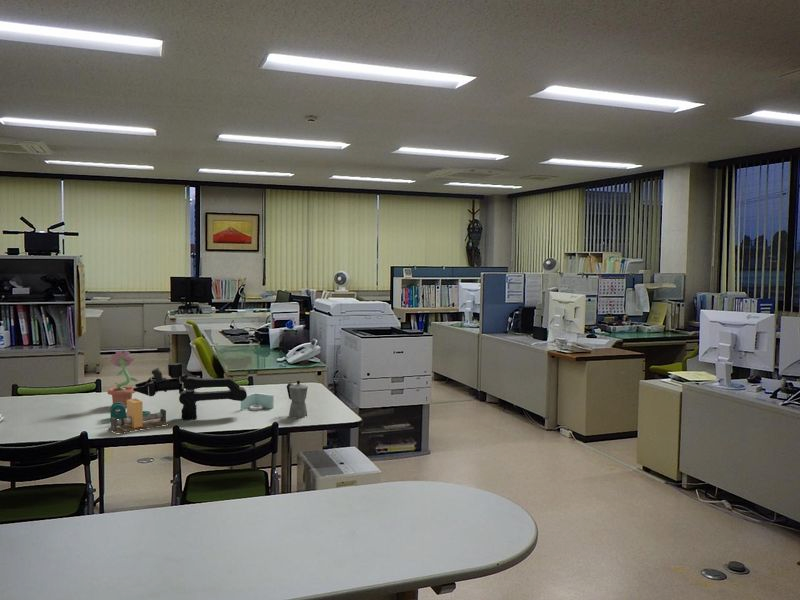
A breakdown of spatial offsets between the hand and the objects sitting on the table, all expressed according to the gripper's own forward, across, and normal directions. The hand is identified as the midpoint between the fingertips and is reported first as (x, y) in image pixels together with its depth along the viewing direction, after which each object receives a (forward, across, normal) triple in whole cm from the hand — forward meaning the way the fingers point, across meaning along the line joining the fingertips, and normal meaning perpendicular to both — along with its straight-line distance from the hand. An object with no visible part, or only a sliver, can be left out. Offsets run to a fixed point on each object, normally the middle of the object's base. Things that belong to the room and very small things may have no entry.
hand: (134, 387), depth 301 cm
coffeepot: (-76, +5, +20) cm, 79 cm away
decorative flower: (+10, -31, +16) cm, 36 cm away
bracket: (+3, -7, +17) cm, 18 cm away
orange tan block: (-1, +13, +15) cm, 20 cm away
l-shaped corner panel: (-58, -11, +20) cm, 62 cm away
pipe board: (-2, +12, +17) cm, 21 cm away
